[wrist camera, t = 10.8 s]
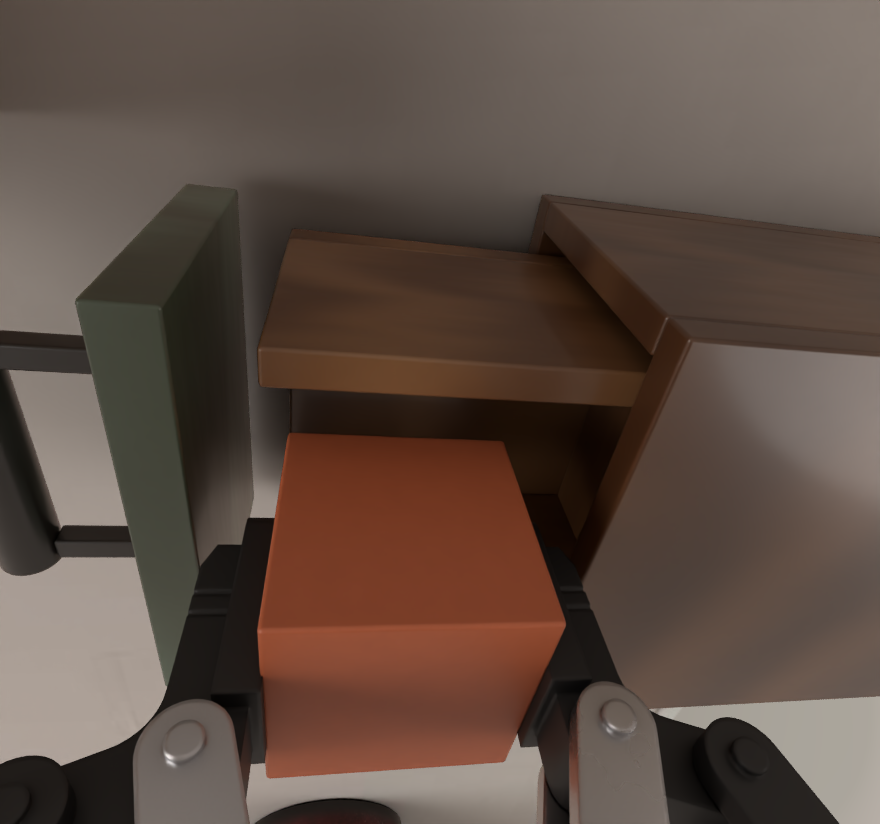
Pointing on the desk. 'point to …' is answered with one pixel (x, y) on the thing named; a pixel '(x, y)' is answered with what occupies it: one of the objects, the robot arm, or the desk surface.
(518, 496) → the block
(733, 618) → the cabinet
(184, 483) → the drawer
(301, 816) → the vase
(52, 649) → the desk surface
